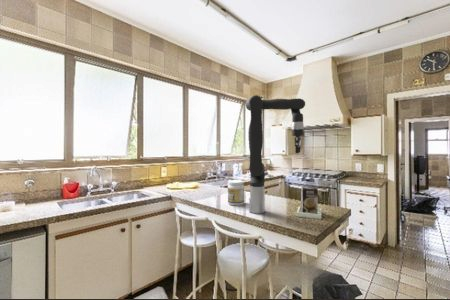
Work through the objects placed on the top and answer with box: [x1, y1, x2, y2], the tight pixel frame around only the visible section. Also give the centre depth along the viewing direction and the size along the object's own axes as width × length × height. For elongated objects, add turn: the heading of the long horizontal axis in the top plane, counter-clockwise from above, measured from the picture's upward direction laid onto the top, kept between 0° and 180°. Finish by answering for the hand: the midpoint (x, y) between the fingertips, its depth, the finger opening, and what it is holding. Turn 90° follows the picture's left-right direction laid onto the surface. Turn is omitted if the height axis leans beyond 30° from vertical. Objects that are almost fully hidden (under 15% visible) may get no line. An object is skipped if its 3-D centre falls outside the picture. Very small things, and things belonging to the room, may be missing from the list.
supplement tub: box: [227, 179, 245, 206], centre depth 176 cm, size 12×12×17 cm
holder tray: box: [296, 206, 323, 220], centre depth 148 cm, size 14×14×3 cm
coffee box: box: [300, 186, 319, 214], centre depth 148 cm, size 9×6×16 cm
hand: (297, 152), depth 162 cm, fingers open, 8 cm apart
